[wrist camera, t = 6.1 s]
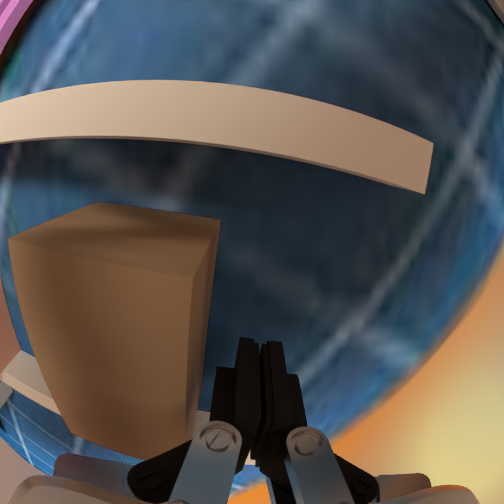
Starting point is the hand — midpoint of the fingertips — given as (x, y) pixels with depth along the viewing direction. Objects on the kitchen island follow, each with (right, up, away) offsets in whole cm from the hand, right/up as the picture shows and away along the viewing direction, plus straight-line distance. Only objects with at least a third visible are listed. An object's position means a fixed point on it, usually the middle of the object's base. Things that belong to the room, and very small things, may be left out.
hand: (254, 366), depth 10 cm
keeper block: (-5, +2, +2) cm, 6 cm away
